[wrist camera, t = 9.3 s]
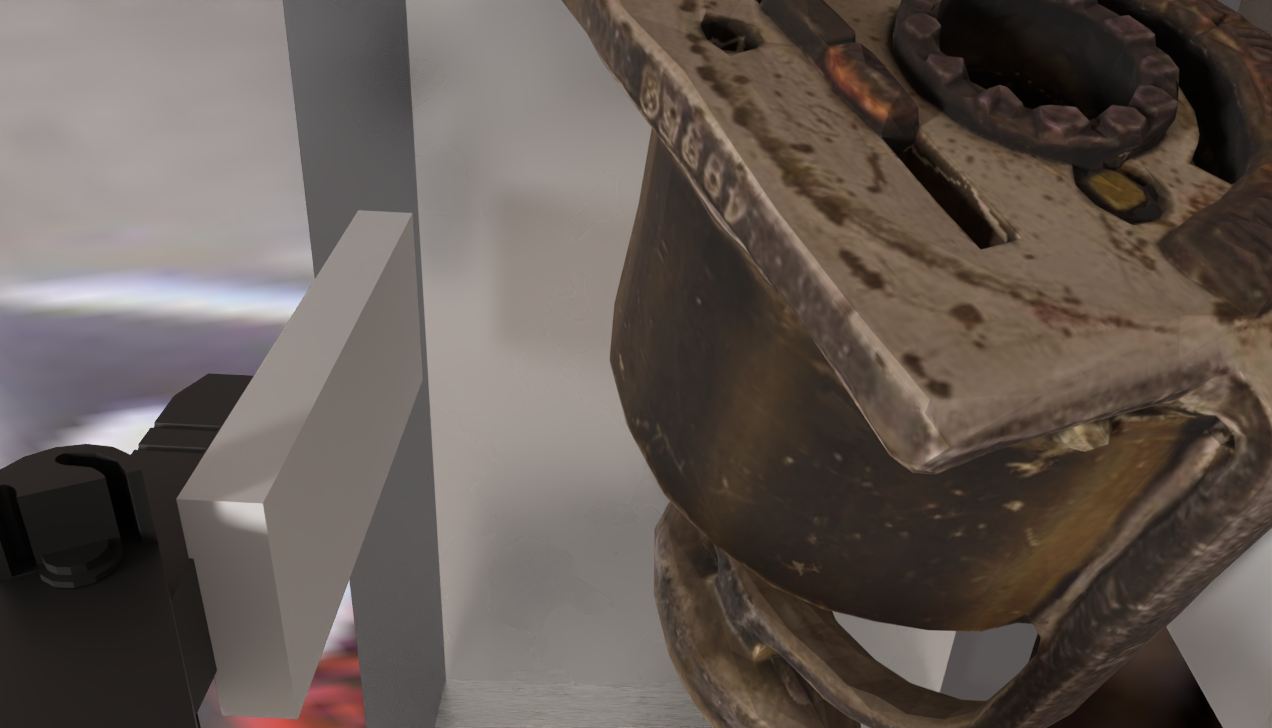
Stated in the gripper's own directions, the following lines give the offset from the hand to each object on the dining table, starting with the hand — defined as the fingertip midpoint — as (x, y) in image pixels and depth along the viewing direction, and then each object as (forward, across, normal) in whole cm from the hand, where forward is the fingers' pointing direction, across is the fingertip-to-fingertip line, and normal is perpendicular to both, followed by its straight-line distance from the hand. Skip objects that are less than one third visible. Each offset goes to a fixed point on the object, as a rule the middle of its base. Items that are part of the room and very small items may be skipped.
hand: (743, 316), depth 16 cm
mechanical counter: (+2, 0, 0) cm, 2 cm away
